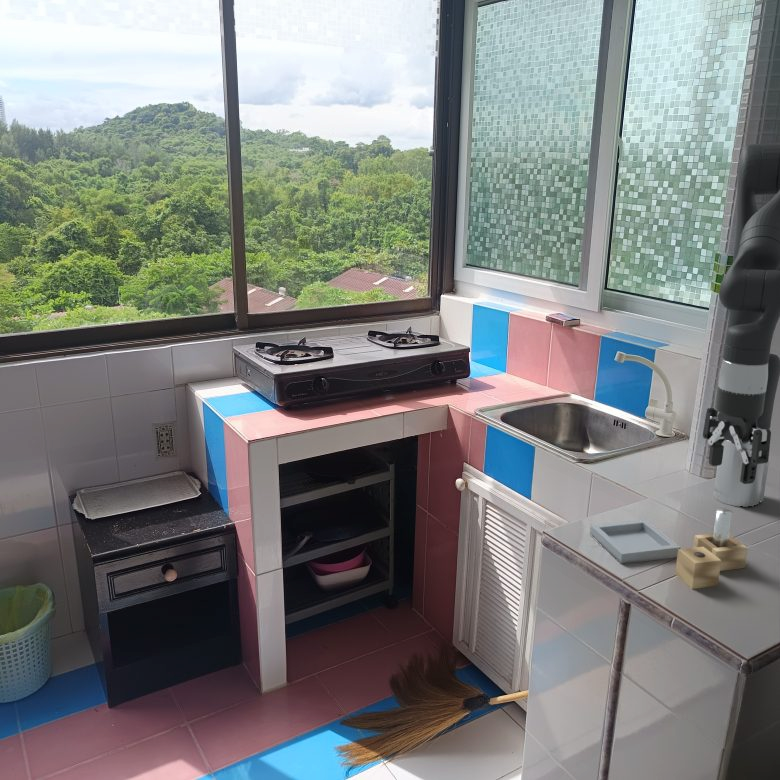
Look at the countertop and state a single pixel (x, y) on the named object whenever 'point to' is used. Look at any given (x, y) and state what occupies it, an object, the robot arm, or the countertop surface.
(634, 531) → the tray
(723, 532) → the cylinder
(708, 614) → the countertop surface
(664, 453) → the countertop surface
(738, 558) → the oak block
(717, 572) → the block
